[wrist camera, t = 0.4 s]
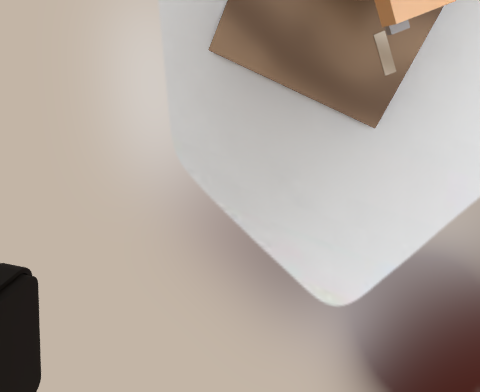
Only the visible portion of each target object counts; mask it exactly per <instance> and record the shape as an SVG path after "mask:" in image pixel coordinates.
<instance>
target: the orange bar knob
mask: <svg viewBox="0 0 480 392" xmlns="http://www.w3.org/2000/svg"><path fill="white" fill-rule="evenodd" d="M374 1H375V4H376V8H377V11H378V15H379V19H380V22H381V26H382V27H385V30H386V33H387V35H392V34H395V33H397V32H400V31H403V30H405V29H408V28H410V25H409V21H408V19H411V18H413V17H416V16H418V15H421V14H424V13H426V12H429V11H431V10H434V9H436V8H439V7H442V6H444V5H447V4H449V3H452V2H454V1H456V0H374Z"/></svg>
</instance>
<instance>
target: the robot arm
mask: <svg viewBox="0 0 480 392" xmlns="http://www.w3.org/2000/svg"><path fill="white" fill-rule="evenodd" d="M38 299H39V298H38V281H37V278H36V277H34V276H32V273H31V271H30V270H29V269H28V268H25V267H20V266H15V265H10V264H5V263H0V392H36V391H37V389H38V387H39V383H40V380H41V362H40V331H39V300H38Z"/></svg>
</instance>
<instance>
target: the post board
mask: <svg viewBox="0 0 480 392" xmlns="http://www.w3.org/2000/svg"><path fill="white" fill-rule="evenodd" d="M442 8H443V6H442V7H439V8H436V9H434V10H431V11H429V12H426V13H424V14H421V15H418V16H416V17H413V18H411V19H408V21H409V25H410V28H408V29H405V30H403V31H400V32H397V33H395V34H392V35H387V33H386V30H385V27H382V26H381V22H380V19H379V15H378V11H377V8H376V4H375V1H374V0H228V1H227V4H226V6H225V9H224V12H223V14H222V17H221V19H220V22H219V24H218V27H217V29H216V32H215V35H214V37H213V40H212V42H211V45H210V47H209V51H211V52H214V53H216V54H218V55H220V56H222V57H224V58H226V59H228V60H231V61H233V62H235V63H237V64H239V65H241V66H243V67H245V68H248V69H250V70H252V71H254V72H256V73H258V74H260V75H262V76H265V77H267V78H269V79H271V80H273V81H275V82H277V83H279V84H282V85H284V86H286V87H288V88H290V89H292V90H294V91H296V92H299V93H301V94H303V95H305V96H307V97H309V98H311V99H313V100H316V101H318V102H320V103H322V104H324V105H326V106H328V107H330V108H333V109H335V110H337V111H339V112H341V113H343V114H345V115H347V116H350V117H352V118H354V119H356V120H358V121H360V122H362V123H364V124H367V125H369V126H371V127H373V128H376V126H377V124H378V122H379V121H380V119H381V117H382V115H383V114H384V112H385V110H386V108H387V106H388V105H389V103H390V101H391V99H392V97H393V96H394V94H395V92H396V90H397V89H398V87H399V85H400V83H401V81H402V80H403V78H404V76H405V74H406V72H407V71H408V69H409V67H410V65H411V64H412V62H413V60H414V58H415V56H416V55H417V53H418V51H419V49H420V47H421V46H422V44H423V42H424V40H425V39H426V37H427V35H428V33H429V31H430V30H431V28H432V26H433V24H434V22H435V21H436V19H437V17H438V15H439V14H440V12H441V10H442Z"/></svg>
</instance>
